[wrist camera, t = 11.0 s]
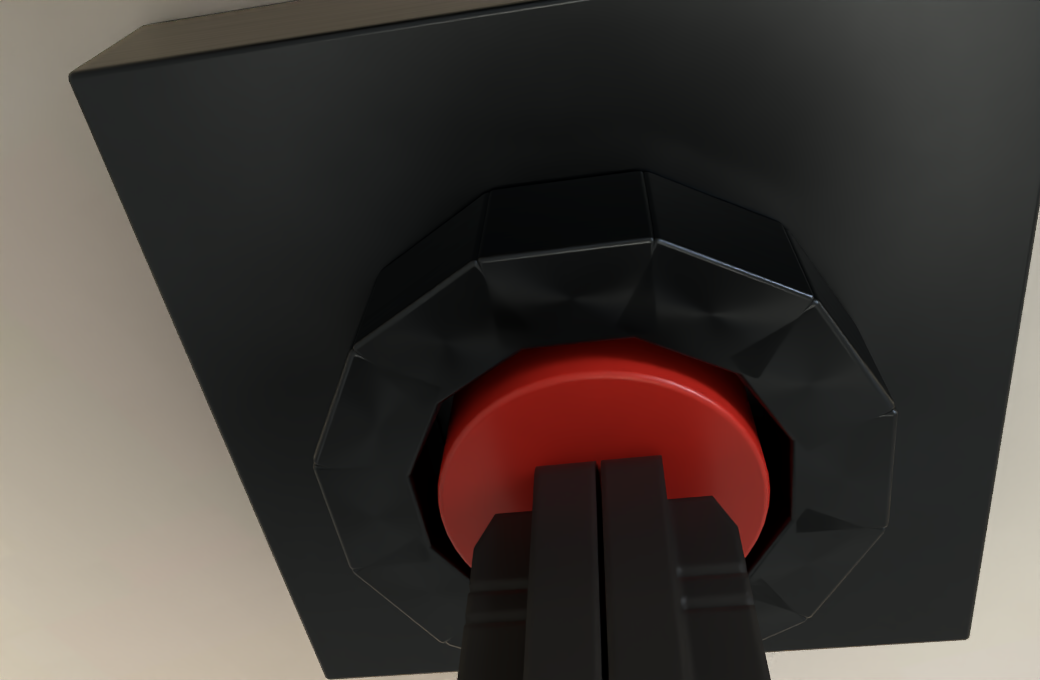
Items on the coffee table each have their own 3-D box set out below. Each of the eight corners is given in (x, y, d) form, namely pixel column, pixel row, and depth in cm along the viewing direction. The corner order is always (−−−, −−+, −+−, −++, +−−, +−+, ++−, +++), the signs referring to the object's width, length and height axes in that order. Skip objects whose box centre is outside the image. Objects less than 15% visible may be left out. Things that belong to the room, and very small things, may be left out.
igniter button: (480, 535, 14) (470, 629, 12) (425, 311, 12) (403, 392, 10) (750, 513, 13) (773, 609, 12) (743, 274, 11) (770, 355, 10)
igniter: (350, 586, 18) (300, 777, 15) (139, 25, 12) (-26, 130, 9) (926, 543, 17) (1016, 742, 13) (1002, -114, 11) (1196, -53, 7)
